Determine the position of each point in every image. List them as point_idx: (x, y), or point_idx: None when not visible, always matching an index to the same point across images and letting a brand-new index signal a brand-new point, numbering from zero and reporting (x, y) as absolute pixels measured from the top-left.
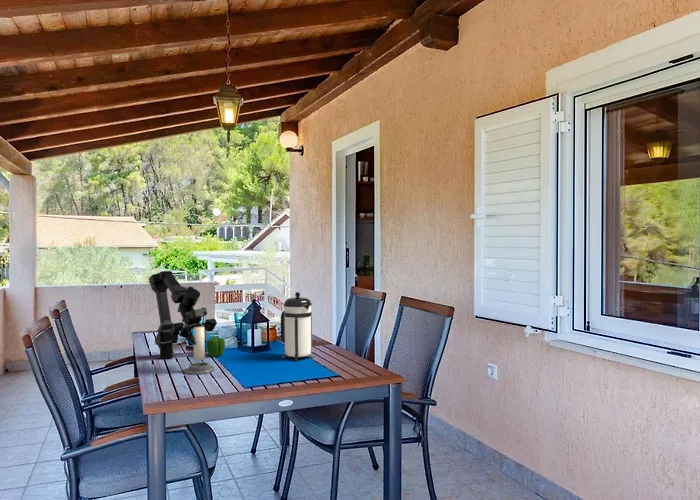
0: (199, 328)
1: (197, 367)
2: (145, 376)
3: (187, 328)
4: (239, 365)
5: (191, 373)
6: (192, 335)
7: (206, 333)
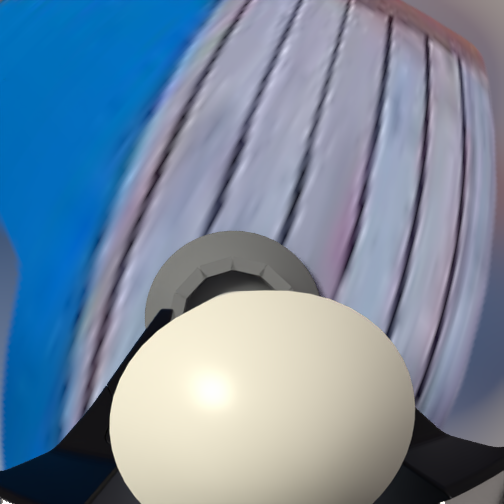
0: (327, 302)
1: (274, 271)
2: (456, 380)
3: (484, 455)
4: (24, 270)
5: (307, 272)
6: None
7: (101, 395)
